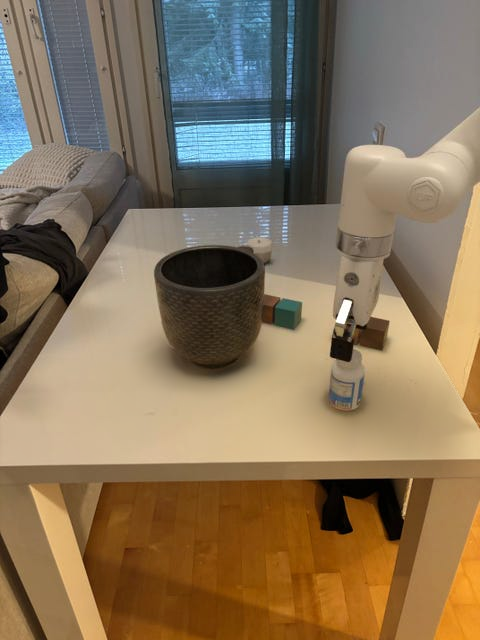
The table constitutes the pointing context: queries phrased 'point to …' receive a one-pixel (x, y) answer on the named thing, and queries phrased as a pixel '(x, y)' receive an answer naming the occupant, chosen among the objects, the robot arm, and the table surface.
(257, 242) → the white pillar candle
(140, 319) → the table surface
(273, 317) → the block
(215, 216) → the table surface
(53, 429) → the table surface
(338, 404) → the pill bottle
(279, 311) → the block
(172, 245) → the table surface
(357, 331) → the block
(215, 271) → the planter
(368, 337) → the block
